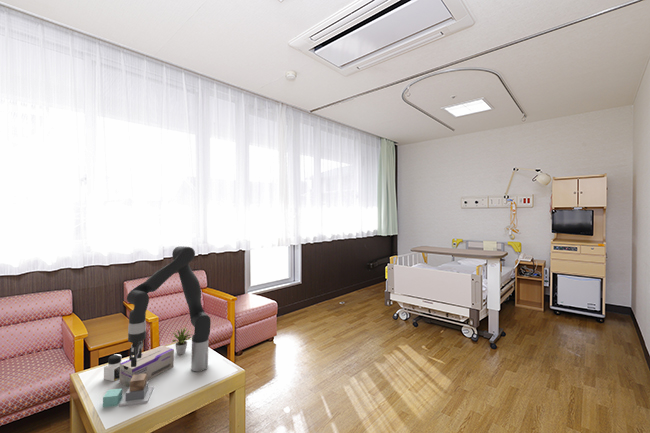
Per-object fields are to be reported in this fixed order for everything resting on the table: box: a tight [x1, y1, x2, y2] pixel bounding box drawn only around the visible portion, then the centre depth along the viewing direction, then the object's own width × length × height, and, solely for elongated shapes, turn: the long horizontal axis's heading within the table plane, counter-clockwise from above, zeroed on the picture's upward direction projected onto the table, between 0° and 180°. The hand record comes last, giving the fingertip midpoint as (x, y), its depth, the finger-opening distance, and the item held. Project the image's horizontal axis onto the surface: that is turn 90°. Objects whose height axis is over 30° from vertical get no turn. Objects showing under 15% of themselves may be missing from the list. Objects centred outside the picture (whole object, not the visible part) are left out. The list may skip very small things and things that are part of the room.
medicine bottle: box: [103, 353, 123, 382], centre depth 168 cm, size 7×7×12 cm
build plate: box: [118, 381, 155, 407], centre depth 152 cm, size 12×12×5 cm
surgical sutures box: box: [118, 344, 175, 388], centre depth 172 cm, size 25×11×11 cm, turn 155°
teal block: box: [102, 388, 123, 408], centre depth 147 cm, size 6×6×5 cm
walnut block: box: [130, 373, 148, 391], centre depth 152 cm, size 6×6×5 cm
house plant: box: [172, 326, 193, 355], centre depth 196 cm, size 14×14×16 cm
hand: (136, 362), depth 151 cm, fingers open, 8 cm apart
